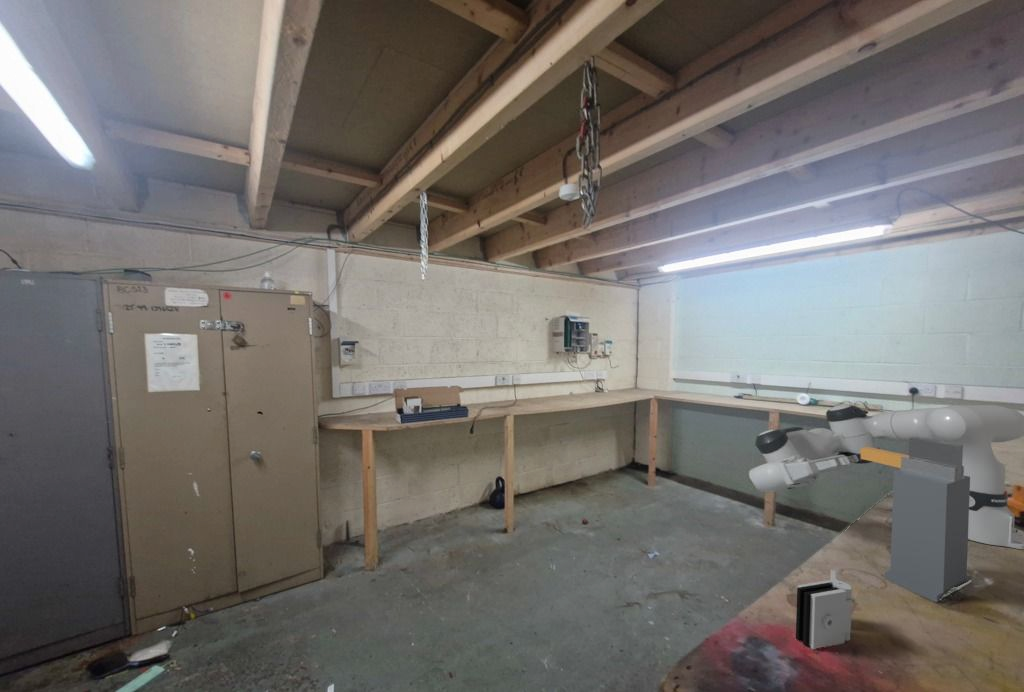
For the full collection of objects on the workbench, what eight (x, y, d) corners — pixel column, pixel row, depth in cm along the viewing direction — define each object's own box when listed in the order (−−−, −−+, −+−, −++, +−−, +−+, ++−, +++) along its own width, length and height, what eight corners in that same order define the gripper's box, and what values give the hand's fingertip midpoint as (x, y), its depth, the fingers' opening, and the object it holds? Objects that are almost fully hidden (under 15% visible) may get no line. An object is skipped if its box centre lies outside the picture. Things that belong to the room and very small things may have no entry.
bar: (866, 457, 104) (867, 428, 103) (961, 479, 88) (962, 445, 87) (860, 458, 102) (861, 429, 102) (956, 481, 86) (957, 446, 86)
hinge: (829, 616, 79) (831, 568, 79) (862, 634, 74) (864, 584, 74) (791, 637, 73) (793, 586, 73) (823, 659, 68) (826, 604, 68)
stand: (919, 562, 99) (923, 452, 99) (971, 582, 91) (976, 462, 90) (883, 578, 92) (887, 460, 92) (936, 602, 84) (941, 472, 83)
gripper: (824, 476, 120) (873, 466, 109) (784, 486, 111) (832, 476, 100) (813, 456, 122) (860, 445, 111) (773, 464, 114) (819, 452, 103)
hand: (847, 460), depth 106 cm, fingers open, 8 cm apart
